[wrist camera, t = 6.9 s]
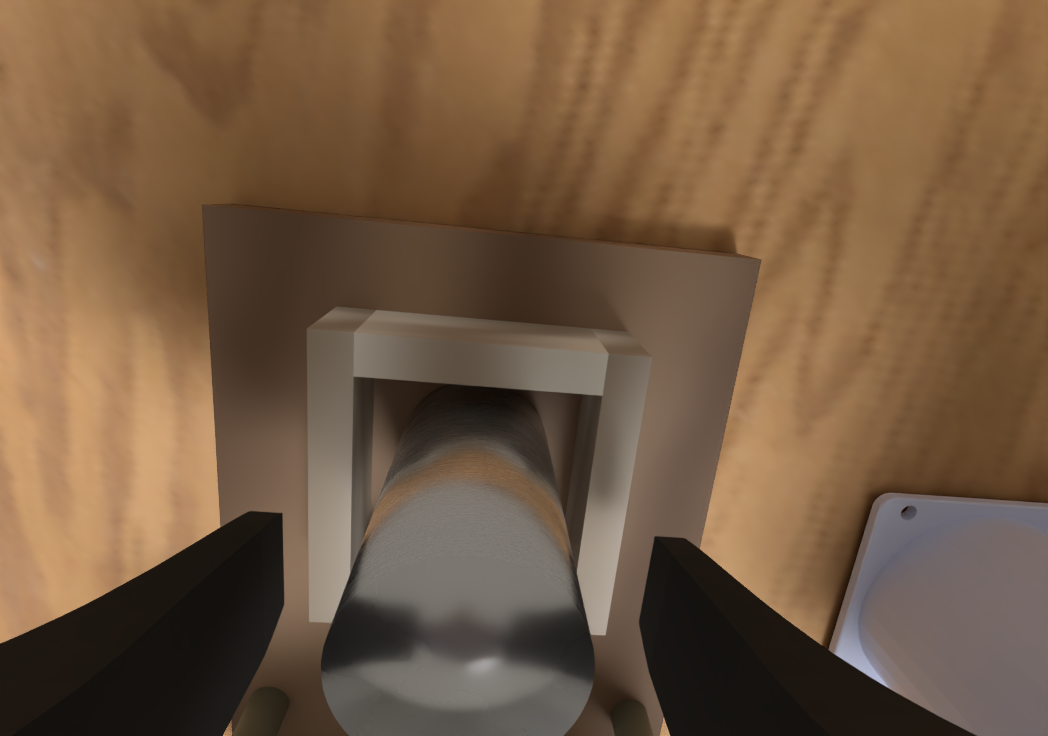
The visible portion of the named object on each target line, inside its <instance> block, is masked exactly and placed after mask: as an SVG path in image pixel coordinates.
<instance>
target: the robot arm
mask: <svg viewBox="0 0 1048 736" xmlns="http://www.w3.org/2000/svg"><path fill="white" fill-rule="evenodd" d="M907 506H908V508H907V510H906V511H905V512H903V513H901V512H902V510H903V509H904V508H905V507H907ZM283 607H284V558H283V513H275V512H259V511H249V512H247V513H245V514H243V515H241V516H239V517H237V518H235V519H234V520H232V521H230V522H229V523H227V524H225V525H224V526H222V527H220V528H219V529H217V530H215V531H214V532H212V533H210V534H209V535H207V536H206V537H204V538H202V539H201V540H199V541H197V542H196V543H194V544H192V545H191V546H189V547H187V548H186V549H184V550H182V551H181V552H179V553H177V554H176V555H174V556H172V557H171V558H169V559H167V560H166V561H164V562H162V563H161V564H159V565H157V566H156V567H154V568H152V569H150V570H148V571H147V572H145V573H143V574H141V575H139V576H137V577H136V578H134V579H132V580H130V581H128V582H127V583H125V584H123V585H121V586H119V587H117V588H116V589H114V590H112V591H110V592H108V593H107V594H105V595H103V596H101V597H99V598H97V599H95V600H93V601H91V602H90V603H88V604H86V605H84V606H82V607H80V608H78V609H76V610H73V611H71V612H69V613H67V614H65V615H63V616H61V617H59V618H57V619H55V620H52V621H50V622H48V623H46V624H44V625H42V626H39V627H37V628H35V629H33V630H31V631H29V632H26V633H24V634H22V635H20V636H17V637H15V638H13V639H10V640H8V641H6V642H3V643H1V644H0V736H223V734H224V732H225V730H226V728H227V726H228V725H229V723H230V721H231V719H232V717H233V715H234V713H235V711H236V710H237V708H238V706H239V704H240V702H241V700H242V698H243V697H244V695H245V693H246V691H247V689H248V687H249V685H250V683H251V681H252V679H253V678H254V676H255V674H256V672H257V670H258V668H259V666H260V664H261V662H262V660H263V658H264V656H265V654H266V652H267V649H268V647H269V644H270V642H271V639H272V636H273V634H274V631H275V629H276V626H277V623H278V621H279V618H280V615H281V612H282V610H283ZM639 627H640V632H641V637H642V642H643V647H644V652H645V657H646V661H647V666H648V670H649V674H650V677H651V680H652V683H653V686H654V689H655V692H656V695H657V698H658V701H659V704H660V707H661V710H662V713H663V716H664V718H665V721H666V724H667V727H668V730H669V733H670V736H1048V503H1038V502H1023V501H1008V500H993V499H978V498H963V497H948V496H934V495H919V494H904V493H885V494H883V495H881V496H879V497H878V498H877V499H876V500H875V502H874V503H873V505H872V509H871V512H870V515H869V518H868V522H867V525H866V528H865V532H864V535H863V538H862V541H861V545H860V548H859V551H858V555H857V558H856V561H855V564H854V568H853V571H852V574H851V577H850V581H849V584H848V587H847V591H846V594H845V597H844V600H843V604H842V607H841V610H840V614H839V617H838V620H837V623H836V627H835V630H834V633H833V637H832V640H831V643H830V646H829V650H828V649H826V648H825V647H823V646H822V645H820V644H819V643H817V642H816V641H815V640H813V639H812V638H810V637H809V636H808V635H806V634H805V633H804V632H802V631H801V630H800V629H798V628H797V627H795V626H794V625H793V624H791V623H790V622H789V621H787V620H786V619H785V618H783V617H782V616H781V615H779V614H778V613H777V612H776V611H774V610H773V609H772V608H770V607H769V606H768V605H767V604H765V603H764V602H763V601H762V600H760V599H759V598H758V597H757V596H755V595H754V594H753V593H752V592H750V591H749V590H748V589H747V588H746V587H744V586H743V585H742V584H741V583H740V582H738V581H737V580H736V579H735V578H734V577H732V576H731V575H730V574H729V573H728V572H726V571H725V570H724V569H723V568H722V567H721V566H719V565H718V564H717V563H716V562H715V561H713V560H712V559H711V558H710V557H709V556H707V555H706V554H705V553H704V552H703V551H701V550H700V549H699V548H698V547H696V546H695V545H694V544H692V543H691V542H690V541H688V540H687V539H686V538H678V537H662V536H655V537H654V542H653V548H652V553H651V559H650V564H649V569H648V575H647V580H646V585H645V591H644V596H643V601H642V607H641V612H640V618H639Z"/></svg>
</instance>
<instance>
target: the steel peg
mask: <svg viewBox="0 0 1048 736" xmlns="http://www.w3.org/2000/svg"><path fill="white" fill-rule="evenodd" d="M594 674H595V656H594V649H593V643H592V639H591V634H590V630H589V625H588V621H587V616H586V612H585V607H584V603H583V598H582V594H581V589H580V585H579V581H578V576H577V572H576V567H575V563H574V558H573V554H572V549H571V545H570V540H569V536H568V531H567V527H566V522H565V518H564V514H563V509H562V505H561V500H560V496H559V491H558V487H557V482H556V478H555V473H554V469H553V464H552V460H551V455H550V451H549V447H548V442H547V438H546V433H545V429H544V426H543V423H542V421H541V418H540V416H539V414H538V413H537V411H536V410H535V408H534V407H533V406H532V404H531V403H530V402H529V401H528V400H527V399H526V398H525V397H524V396H522V395H521V394H520V393H518V392H517V391H516V390H514V389H509V388H496V387H483V386H470V385H458V384H445V385H443V386H441V387H438V388H437V389H435V390H434V391H432V392H430V393H429V394H428V395H427V396H425V397H424V398H423V399H422V400H421V401H420V402H419V403H418V404H417V406H416V407H415V408H414V410H413V411H412V413H411V415H410V417H409V419H408V421H407V423H406V426H405V429H404V431H403V434H402V437H401V439H400V442H399V445H398V447H397V450H396V453H395V455H394V458H393V461H392V463H391V466H390V469H389V471H388V474H387V477H386V479H385V482H384V485H383V487H382V490H381V493H380V495H379V498H378V501H377V503H376V506H375V509H374V511H373V514H372V517H371V519H370V522H369V525H368V527H367V530H366V533H365V536H364V538H363V541H362V544H361V546H360V549H359V552H358V554H357V557H356V560H355V562H354V565H353V568H352V570H351V573H350V576H349V578H348V581H347V584H346V586H345V589H344V592H343V594H342V597H341V600H340V602H339V605H338V608H337V610H336V613H335V616H334V618H333V621H332V624H331V626H330V629H329V632H328V635H327V638H326V640H325V643H324V646H323V652H322V658H321V680H322V686H323V691H324V694H325V697H326V700H327V703H328V705H329V707H330V709H331V711H332V713H333V715H334V717H335V719H336V720H337V721H338V723H339V724H340V726H341V727H342V728H343V730H344V731H345V732H346V733H347V734H348V735H349V736H564V735H565V733H566V732H567V731H568V730H569V729H570V728H571V727H572V726H573V724H574V723H575V722H576V720H577V719H578V717H579V716H580V714H581V713H582V711H583V709H584V707H585V705H586V703H587V701H588V698H589V695H590V692H591V689H592V686H593V680H594Z"/></svg>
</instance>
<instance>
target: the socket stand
mask: <svg viewBox="0 0 1048 736" xmlns="http://www.w3.org/2000/svg"><path fill="white" fill-rule="evenodd" d="M202 211H203V228H204V246H205V263H206V280H207V298H208V315H209V333H210V350H211V368H212V385H213V403H214V420H215V438H216V455H217V473H218V490H219V508H220V525H221V527H222V526H224V525H225V524H227V523H229V522H230V521H232V520H234V519H235V518H237V517H239V516H241V515H243V514H245V513H247V512H249V511H259V512H275V513H283V558H284V607H283V610H282V612H281V615H280V618H279V621H278V623H277V626H276V629H275V631H274V634H273V636H272V639H271V642H270V644H269V647H268V649H267V652H266V654H265V656H264V658H263V660H262V662H261V664H260V666H259V668H258V670H257V672H256V674H255V676H254V678H253V679H252V681H251V683H250V685H249V687H248V689H247V691H246V693H245V695H244V697H243V698H242V700H241V702H240V704H239V706H238V708H237V710H236V711H235V713H234V715H233V717H232V736H349V735H348V734H347V733H346V732H345V731H344V730H343V728H342V727H341V726H340V724H339V723H338V721H337V720H336V719H335V717H334V715H333V713H332V711H331V709H330V707H329V705H328V703H327V700H326V697H325V694H324V691H323V686H322V680H321V658H322V652H323V646H324V643H325V640H326V638H327V635H328V632H329V629H330V626H331V624H332V621H333V618H334V616H335V613H336V610H337V608H338V605H339V602H340V600H341V597H342V594H343V592H344V589H345V586H346V584H347V581H348V578H349V576H350V573H351V570H352V568H353V565H354V562H355V560H356V557H357V554H358V552H359V549H360V546H361V544H362V541H363V538H364V536H365V533H366V530H367V527H368V525H369V522H370V519H371V517H372V514H373V511H374V509H375V506H376V503H377V501H378V498H379V495H380V493H381V490H382V487H383V485H384V482H385V479H386V477H387V474H388V471H389V469H390V466H391V463H392V461H393V458H394V455H395V453H396V450H397V447H398V445H399V442H400V439H401V437H402V434H403V431H404V429H405V426H406V423H407V421H408V419H409V417H410V415H411V413H412V411H413V410H414V408H415V407H416V406H417V404H418V403H419V402H420V401H421V400H422V399H423V398H424V397H425V396H427V395H428V394H429V393H430V392H432V391H434V390H435V389H437V388H438V387H441V386H443V385H445V384H458V385H470V386H483V387H496V388H509V389H514V390H516V391H517V392H518V393H520V394H521V395H522V396H524V397H525V398H526V399H527V400H528V401H529V402H530V403H531V404H532V406H533V407H534V408H535V410H536V411H537V413H538V414H539V416H540V418H541V421H542V423H543V426H544V429H545V433H546V438H547V442H548V447H549V451H550V455H551V460H552V464H553V469H554V473H555V478H556V482H557V487H558V491H559V496H560V500H561V505H562V509H563V514H564V518H565V522H566V527H567V531H568V536H569V540H570V545H571V549H572V554H573V558H574V563H575V567H576V572H577V576H578V581H579V585H580V589H581V594H582V598H583V603H584V607H585V612H586V616H587V621H588V625H589V630H590V634H591V639H592V643H593V649H594V656H595V674H594V680H593V686H592V689H591V692H590V695H589V698H588V701H587V703H586V705H585V707H584V709H583V711H582V713H581V714H580V716H579V717H578V719H577V720H576V722H575V723H574V724H573V726H572V727H571V728H570V729H569V730H568V731H567V732H566V733H565V735H564V736H660V731H661V727H662V722H663V717H664V716H663V713H662V710H661V707H660V704H659V701H658V698H657V695H656V692H655V689H654V686H653V683H652V680H651V677H650V674H649V670H648V666H647V661H646V657H645V652H644V647H643V642H642V637H641V632H640V627H639V618H640V612H641V607H642V601H643V596H644V591H645V585H646V580H647V575H648V569H649V564H650V559H651V553H652V548H653V542H654V537H655V536H662V537H678V538H686V539H687V540H688V541H690V542H691V543H692V544H694V545H695V546H696V547H698V548H699V549H700V544H701V540H702V535H703V530H704V526H705V521H706V516H707V512H708V507H709V502H710V498H711V493H712V488H713V484H714V479H715V474H716V470H717V465H718V460H719V456H720V451H721V446H722V442H723V437H724V432H725V428H726V423H727V418H728V414H729V409H730V404H731V400H732V395H733V390H734V385H735V381H736V376H737V371H738V367H739V362H740V357H741V353H742V348H743V343H744V339H745V334H746V329H747V325H748V320H749V315H750V311H751V306H752V301H753V297H754V292H755V287H756V283H757V278H758V273H759V269H760V264H761V260H760V259H756V258H752V257H748V256H744V255H740V254H734V253H724V252H713V251H703V250H693V249H683V248H673V247H663V246H653V245H642V244H632V243H622V242H612V241H602V240H592V239H582V238H571V237H561V236H551V235H541V234H531V233H521V232H511V231H500V230H490V229H480V228H470V227H460V226H450V225H440V224H429V223H419V222H409V221H399V220H389V219H379V218H369V217H358V216H348V215H338V214H328V213H318V212H308V211H298V210H287V209H277V208H267V207H257V206H247V205H237V204H213V205H202Z"/></svg>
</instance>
